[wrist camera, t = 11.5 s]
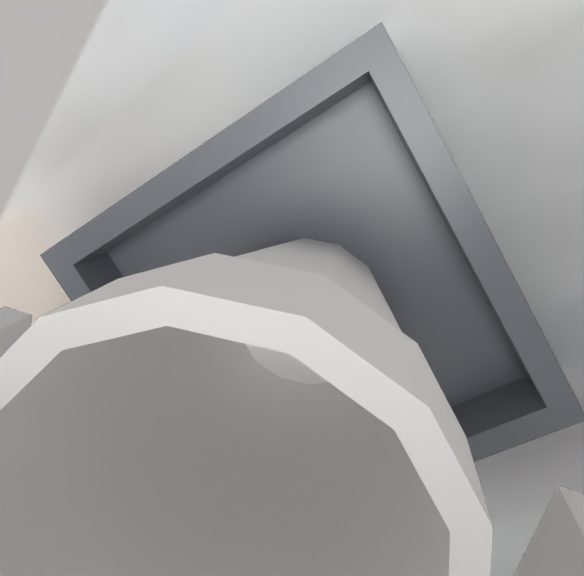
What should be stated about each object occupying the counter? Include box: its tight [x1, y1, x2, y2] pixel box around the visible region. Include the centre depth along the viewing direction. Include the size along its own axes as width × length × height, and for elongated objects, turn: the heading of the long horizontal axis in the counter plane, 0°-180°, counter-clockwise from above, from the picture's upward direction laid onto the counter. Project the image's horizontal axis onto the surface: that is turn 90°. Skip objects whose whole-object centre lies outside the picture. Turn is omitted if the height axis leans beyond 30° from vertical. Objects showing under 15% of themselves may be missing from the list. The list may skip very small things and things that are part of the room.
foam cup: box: [0, 238, 493, 576], centre depth 14 cm, size 10×9×13 cm
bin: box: [40, 22, 584, 461], centre depth 20 cm, size 15×15×4 cm
